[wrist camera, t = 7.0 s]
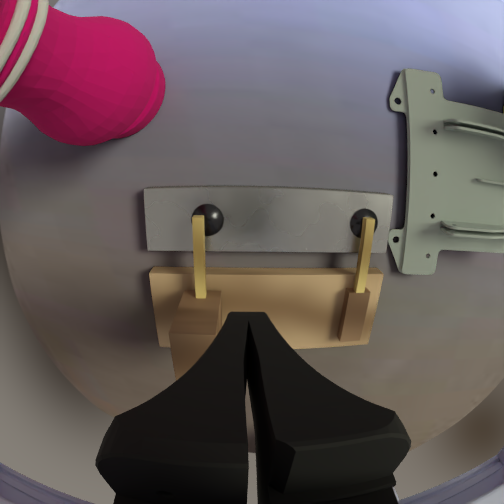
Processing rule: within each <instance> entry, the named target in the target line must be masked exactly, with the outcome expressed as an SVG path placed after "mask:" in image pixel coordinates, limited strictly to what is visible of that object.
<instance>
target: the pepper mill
mask: <svg viewBox="0 0 504 504" xmlns="http://www.w3.org/2000/svg"><path fill="white" fill-rule="evenodd" d="M48 1H49V0H0V106H2V107H7V108H12V109H15V110H17V111H19V112H21V113H22V114H23V115H24V116H25V117H27V118H28V119H29V120H30V121H31V122H32V123H33V124H34V125H35V126H36V127H37V128H38V129H39V130H40V131H41V132H43V133H44V134H46V135H47V136H49V137H51V138H53V139H55V140H57V141H59V142H62V143H66V144H71V145H79V146H89V145H95V144H99V143H102V142H105V141H108V140H110V139H112V138H123V137H127V136H130V135H132V134H135V133H136V132H138V131H140V130H141V129H143V128H144V127H145V126H146V125H147V124H148V123H149V122H150V121H151V120H152V119H153V118H154V116H155V115H156V114H157V112H158V110H159V108H160V106H161V104H162V101H163V98H164V93H165V78H164V74H163V71H162V69H161V67H160V65H159V64H158V62H157V61H156V58H155V54H154V51H153V49H152V47H151V44H150V42H149V41H148V40H147V38H146V37H145V36H144V35H143V34H142V33H141V32H139V31H138V30H137V29H135V28H134V27H133V26H131V25H130V24H128V23H126V22H124V21H121V20H118V19H114V18H111V17H103V16H98V17H76V16H71V15H68V14H66V13H63V12H61V11H59V10H57V9H54V8H52V7H51V6H50V5H49V3H48Z"/></svg>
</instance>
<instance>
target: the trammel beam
mask: <svg viewBox="0 0 504 504" xmlns="http://www.w3.org/2000/svg"><path fill="white" fill-rule="evenodd" d="M374 226H375V219H373V218H369V217H363V223H362V231H361V240H360V247H359V255H358V262H357V268H214V267H206V290H207V291H221V297H222V326H223V324H224V322H225V320H226V318H227V315H228V313H230V312H231V311H233V312H265V313H266V314H267V315H268V317H269V318H270V320H271V321H272V323H273V324H274V326H275V327H276V329H277V330H278V332H279V333H280V334H281V335H282V337H283V338H284V339H285V340H286V342H287V343H288V344H289V345H290V346H291V347H292V348H293V349H304V348H322V347H337V346H350V345H361V344H368V341H369V337H370V333H371V329H372V325H373V321H374V317H375V312H376V308H377V304H378V299H379V294H380V290H381V285H382V279H383V273H382V272H381V271H380V270H379V269H378V268H369V261H370V255H371V248H372V241H373V234H374ZM149 277H150V285H151V293H152V301H153V308H154V315H155V321H156V328H157V334H158V340H159V345H160V347H170V341H169V334H168V333H169V330H170V328H171V325H172V322H173V319H174V317H175V314H176V311H177V309H178V306H179V303H180V301H181V298H182V296H183V293H184V290H195V275H194V267H153V268H152V270H151V271H150V273H149Z"/></svg>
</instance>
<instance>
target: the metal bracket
mask: <svg viewBox="0 0 504 504" xmlns="http://www.w3.org/2000/svg"><path fill="white" fill-rule="evenodd" d="M430 89H432V90H434V94H432V93H431V92H430ZM395 98H399V99H400V100H401V104H400V105H398V104H396V103H395V101H394V100H395ZM389 102H390V108H391V109H392V110H393V111H397V112H403V113H404V114H405V115H406V119H407V196H406V213H405V225H404V227H403V228H402V229H391V230H390V231H389V235H388V243H389V245H390V248H391V251H392V253H393V256H394V259H395V262H396V264H397V267H398V270H399V272H401V273H403V274H417V275H432V274H433V273H434V272H435V269H436V263H437V257H438V253H439V251H440V250H457V251H476V252H493V253H504V114H503V113H499V112H496V111H492V110H488V109H484V108H480V107H476V106H472V105H467V104H462V103H458V102H453V101H447V100H445V98H444V97H443V91H442V82H441V77H440V76H439V75H438V74H437V73H434V72H428V71H422V70H416V69H403V70H402V71H401V73H400V75H399V78H398V80H397V82H396V85H395V87H394V89H393V91H392V94H391V96H390V98H389ZM434 129H435V130H436V131H437V134H436V135H435V134H434V133H433V130H434ZM433 172H436V173H437V176H435V177H434V176H433ZM431 214H434V217H433V218H431ZM395 236H397V237H399V241H398V242H396V243H395V242H393V238H394V237H395ZM428 253H429V254H430V256H429V257H428V258H427V257H426V254H428Z"/></svg>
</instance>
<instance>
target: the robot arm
mask: <svg viewBox="0 0 504 504" xmlns="http://www.w3.org/2000/svg"><path fill="white" fill-rule="evenodd" d="M247 381H248V388H249V395H250V402H251V408H252V415H253V421H254V429H255V444H256V467H257V495H258V504H504V446H503V448H502V449H501V450H500V451H499V452H498V455H496V456H494V457H493V458H491V459H489V460H487V461H486V462H484V463H482V464H480V465H479V466H477V467H475V468H473V469H471V470H469V471H468V472H466V473H464V474H462V475H460V476H458V477H455V478H453V479H451V480H449V481H447V482H445V483H443V484H440V485H438V486H436V487H433V488H431V489H429V490H426V491H423V492H421V493H418V494H416V495H413V496H410V497H407V498H405V499H402V500H399V498H398V495H397V493H396V491H395V489H394V486H395V485H396V481H395V478H394V475H393V472H394V471H395V469H396V468H397V467H398V466H399V464H400V463H401V462H402V460H403V459H404V458H405V456H406V455H407V453H408V451H409V449H410V447H411V440H410V438H409V436H408V434H407V432H406V429H405V427H404V425H403V424H402V422H401V420H400V419H399V417H398V416H397V414H396V413H395V411H392V410H390V409H387V408H384V407H382V406H379V405H376V404H374V403H371V402H368V401H366V400H364V399H362V398H360V397H358V396H356V395H354V394H352V393H350V392H348V391H346V390H344V389H343V388H341V387H339V386H337V385H336V384H334V383H333V382H331V381H330V380H328V379H327V378H325V377H324V376H322V375H321V374H320V373H318V372H317V371H316V370H315V369H313V368H312V367H311V366H310V365H309V364H307V363H306V362H305V361H304V360H303V359H302V358H301V357H300V356H299V355H298V354H297V353H296V352H295V351H294V350H293V348H292V347H291V346H290V345H289V344H288V343H287V342H286V340H285V339H284V338H283V337H282V335H281V334H280V333H279V332H278V330H277V329H276V327H275V326H274V324H273V323H272V321H271V320H270V318H269V317H268V315H267V314H266V313H265V312H233V311H231V312H230V313H228V315H227V318H226V320H225V322H224V324H223V326H222V328H221V330H220V331H219V333H218V334H217V336H216V337H215V339H214V340H213V342H212V343H211V345H210V346H209V347H208V349H207V350H206V351H205V352H204V354H203V355H202V356H201V357H200V358H199V360H198V361H197V362H196V363H195V364H194V365H193V366H192V367H191V368H190V369H189V370H188V371H187V372H186V373H185V374H184V375H182V376H181V377H180V378H179V379H178V380H177V381H176V382H174V383H173V384H172V385H171V386H169V387H168V388H167V389H165V390H164V391H162V392H161V393H159V394H158V395H156V396H155V397H153V398H152V399H150V400H148V401H147V402H145V403H143V404H141V405H139V406H137V407H135V408H133V409H131V410H129V411H126V412H124V413H122V414H120V415H117V416H115V418H114V420H113V421H112V423H111V425H110V427H109V428H108V430H107V432H106V434H105V436H104V438H103V441H102V444H101V446H100V449H99V452H98V455H97V458H96V467H97V469H98V471H99V473H100V474H101V475H102V477H103V478H104V479H105V480H106V482H107V483H108V484H109V485H110V487H111V488H112V489H113V490H114V492H115V493H116V496H115V499H114V503H113V504H247V489H248V469H249V468H248V467H249V466H248V440H247V427H246V411H245V395H246V384H247ZM0 504H94V503H90V502H87V501H84V500H81V499H79V498H75V497H73V496H70V495H68V494H65V493H62V492H60V491H57V490H55V489H53V488H50V487H48V486H46V485H43V484H41V483H39V482H36V481H34V480H32V479H30V478H28V477H26V476H24V475H22V474H20V473H18V472H16V471H14V470H13V469H11V468H9V467H7V466H5V465H4V464H2V463H0Z"/></svg>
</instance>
